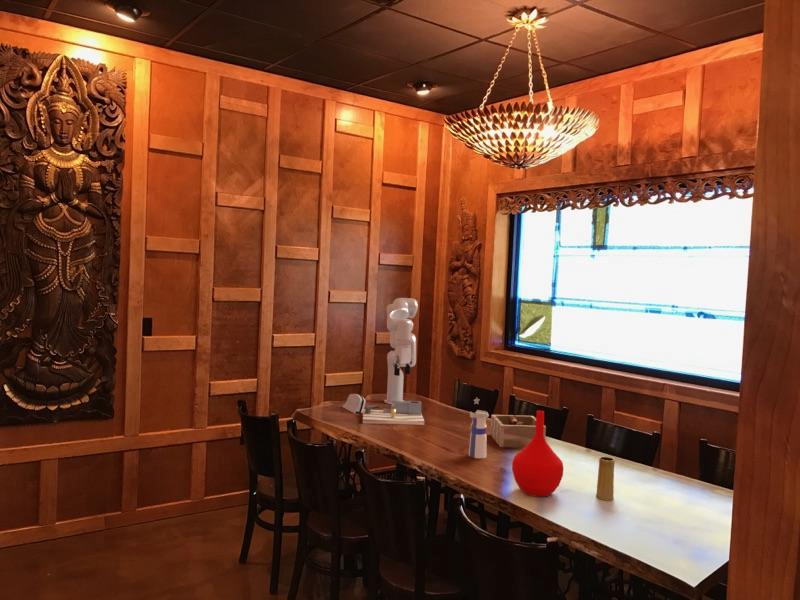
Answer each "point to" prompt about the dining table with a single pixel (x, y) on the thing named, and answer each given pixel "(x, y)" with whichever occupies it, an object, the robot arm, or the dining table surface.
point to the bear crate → (513, 430)
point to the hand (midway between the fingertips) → (402, 374)
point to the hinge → (355, 403)
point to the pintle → (393, 413)
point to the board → (386, 418)
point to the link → (405, 407)
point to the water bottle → (478, 433)
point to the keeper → (368, 408)
